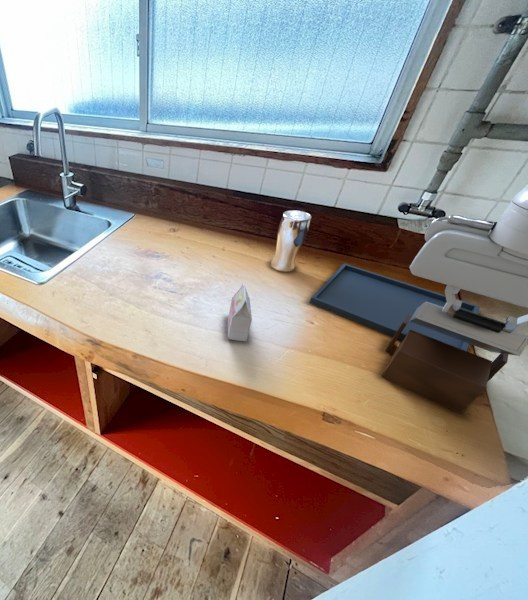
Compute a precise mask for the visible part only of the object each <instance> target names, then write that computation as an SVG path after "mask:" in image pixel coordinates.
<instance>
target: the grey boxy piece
mask: <svg viewBox="0 0 528 600" xmlns="http://www.w3.org/2000/svg"><path fill="white" fill-rule="evenodd" d="M252 321H253V317H252V307H251V299H250V296H249V294H248V291H247V288H246V284H245V283H242V285H241V286H240V288H239V289H238V290H237V291H236V293H234V295H233V296H232V297H231V301H230V306H229V312H228V316H227V340H232V341H239V342H247V340H248V337H249V333H250V328H251V326H252Z"/></svg>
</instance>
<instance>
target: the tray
mask: <svg viewBox="0 0 528 600" xmlns="http://www.w3.org/2000/svg"><path fill="white" fill-rule="evenodd" d="M455 299H456V300H459V301H462V304H461V307H460V308H461V309H464V310H467V311H470V312H473V313H476V314H479V313H480V309H481V306H480V305H478V304H474V303H471V302H467V301H464V300H462V299H458V298H455ZM424 302H429V303H432V304H435V305H438V306H441V307H444V306H445V304H446V302H447V301H446V296H445V294H442V293H439V292H436V291H433V290H430V289H427V288H423V287H420V286H418V285H414V284H412V283H408V282H404V281H401V280H398V279H395V278H393V277H389V276H387V275H382V274H379V273H377V272H374V271H370V270H367V269H364V268H360V267H357V266H354V265H351V264H348V263H342V265H341V266H339V268H338V269H337V270H336V271H335V272H334V273H333V275H331V276H330V277H329V278H328V279H327V280H326V282H325V283H324V284H322V286H321V287H319V289H318V290H317V291H316V292H315V293H314V294H313V295H312V296H311V298H310V300H309V302H308V303H309V304H311V305H314V306H316V307H319V308H321V309H324V310H326V311H329V312H330V313H333V314H336V315H338V316H341V317H343V318H346V319H349V320H351V321H353V322H355V323H358V324H361V325H362V326H366V327H367V328H370V329H373V330H375V331H378V332H380V333H383V334H385V335H388V336H390V337H392V338H393V336H394V335H395V333H396V332H397V330H398V328H399V327H400V325H401V324H402V322H403V321H404V319H405V317H406V316H407V315H410V316H411V317H412V316H413V314H414V313H415V311H416V309H417V308H418V307H419V306H421V305H422V304H423V303H424ZM411 317H410V319H411ZM410 319H409V321H410ZM409 321H408V323H407V325H406V326H405V328H404V329H403V331H402V332H401V334H400V335H399V337H398V338H397V340H400V341H401V342H402V341H403V339H404V338H405V336H406V335H407V333H408V332H409V330H413V331H415V332H418V333H420V334H423V335H426V336H428V337H431V338H433V339H436V340H439V341H441V342H444V343H446V344H449V345H451V346H454V347H457V348H459V349H462V350H464V351H467V352H468V350H469V346H470V344H468V343H465V342H463V341H460V340H457V339H455V338H452V337H449V336H447V335H444V334H441V333H439V332H436V331H433V330H431V329H428V328H425V327H423V326H420V325H417V324H415V323H412V322H409Z"/></svg>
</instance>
